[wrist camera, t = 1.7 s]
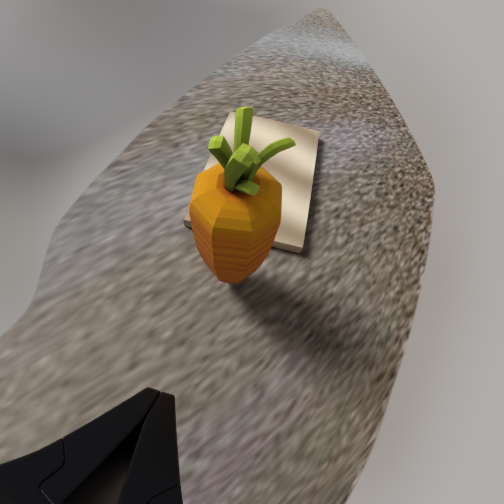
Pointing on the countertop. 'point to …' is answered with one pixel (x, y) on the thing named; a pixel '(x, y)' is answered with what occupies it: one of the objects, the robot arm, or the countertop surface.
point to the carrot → (237, 204)
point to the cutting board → (282, 173)
